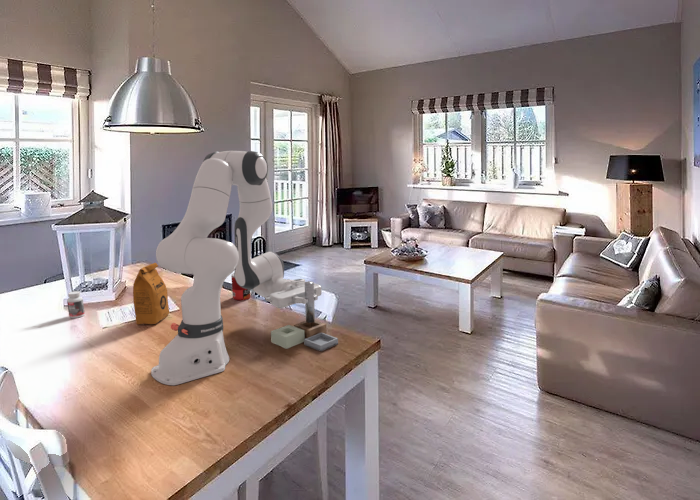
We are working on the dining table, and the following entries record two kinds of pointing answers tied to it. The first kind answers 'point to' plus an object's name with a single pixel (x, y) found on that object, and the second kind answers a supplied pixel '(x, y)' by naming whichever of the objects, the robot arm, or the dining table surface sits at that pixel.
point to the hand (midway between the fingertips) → (311, 299)
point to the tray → (321, 341)
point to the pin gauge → (309, 302)
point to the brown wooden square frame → (311, 328)
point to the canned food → (239, 291)
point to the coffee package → (150, 296)
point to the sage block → (287, 336)
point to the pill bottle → (75, 305)
